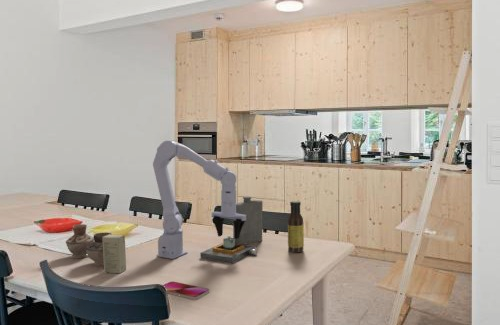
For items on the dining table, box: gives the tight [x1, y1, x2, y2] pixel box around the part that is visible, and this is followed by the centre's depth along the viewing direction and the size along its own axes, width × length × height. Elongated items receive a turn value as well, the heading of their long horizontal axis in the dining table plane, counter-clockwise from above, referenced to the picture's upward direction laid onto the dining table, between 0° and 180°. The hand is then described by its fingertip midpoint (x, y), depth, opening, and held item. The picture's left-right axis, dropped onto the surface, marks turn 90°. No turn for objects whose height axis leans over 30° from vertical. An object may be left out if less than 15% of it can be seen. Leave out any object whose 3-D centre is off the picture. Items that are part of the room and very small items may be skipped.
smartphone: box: [163, 281, 210, 300], centre depth 120 cm, size 7×1×15 cm
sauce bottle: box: [287, 200, 305, 253], centre depth 161 cm, size 6×6×20 cm
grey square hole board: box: [200, 242, 258, 264], centre depth 156 cm, size 18×17×3 cm
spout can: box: [222, 236, 235, 250], centre depth 157 cm, size 4×4×7 cm
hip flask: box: [232, 195, 263, 245], centre depth 174 cm, size 16×4×20 cm, turn 133°
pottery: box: [65, 223, 113, 267], centre depth 149 cm, size 11×25×12 cm, turn 55°
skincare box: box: [102, 233, 127, 274], centre depth 137 cm, size 6×4×12 cm
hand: (228, 237), depth 157 cm, fingers open, 7 cm apart
